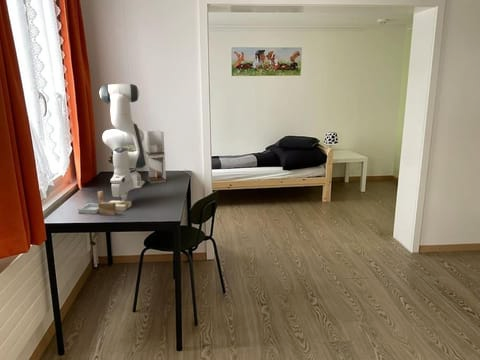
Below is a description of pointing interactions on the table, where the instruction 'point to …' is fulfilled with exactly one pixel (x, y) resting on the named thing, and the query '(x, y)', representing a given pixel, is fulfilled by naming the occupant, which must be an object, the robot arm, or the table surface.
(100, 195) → the dowel
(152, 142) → the display case
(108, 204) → the wooden block
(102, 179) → the table surface
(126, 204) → the board
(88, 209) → the tray
